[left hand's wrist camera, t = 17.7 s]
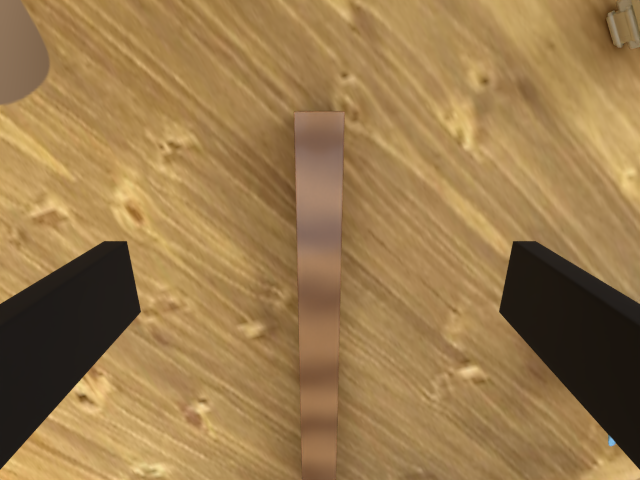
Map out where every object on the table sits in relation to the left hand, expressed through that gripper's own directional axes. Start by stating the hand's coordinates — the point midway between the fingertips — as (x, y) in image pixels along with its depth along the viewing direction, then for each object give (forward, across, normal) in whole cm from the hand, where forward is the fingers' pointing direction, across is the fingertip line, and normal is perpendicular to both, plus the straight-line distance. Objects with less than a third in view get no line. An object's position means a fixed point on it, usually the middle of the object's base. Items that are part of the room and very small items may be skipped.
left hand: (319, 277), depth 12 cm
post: (+34, 0, -26) cm, 43 cm away
